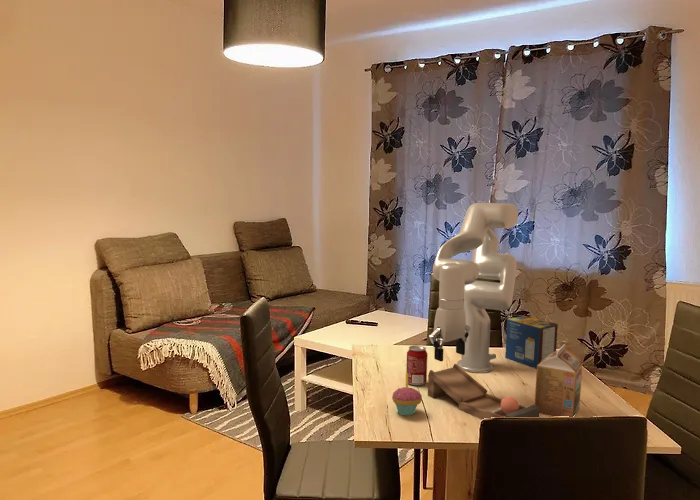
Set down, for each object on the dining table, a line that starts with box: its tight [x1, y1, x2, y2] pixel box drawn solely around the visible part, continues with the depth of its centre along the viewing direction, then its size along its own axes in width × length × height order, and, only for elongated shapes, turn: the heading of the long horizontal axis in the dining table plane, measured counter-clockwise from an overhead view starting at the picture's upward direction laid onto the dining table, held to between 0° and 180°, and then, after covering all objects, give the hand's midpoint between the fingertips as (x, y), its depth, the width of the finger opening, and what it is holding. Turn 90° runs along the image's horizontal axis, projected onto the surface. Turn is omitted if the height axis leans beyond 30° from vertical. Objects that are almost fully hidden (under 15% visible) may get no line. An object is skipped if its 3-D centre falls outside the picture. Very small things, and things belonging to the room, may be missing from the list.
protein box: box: [504, 315, 559, 370], centre depth 212 cm, size 10×15×16 cm
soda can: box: [405, 345, 428, 387], centre depth 187 cm, size 7×7×12 cm
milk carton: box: [534, 343, 584, 417], centre depth 166 cm, size 11×10×19 cm
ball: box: [501, 395, 520, 415], centre depth 159 cm, size 5×5×5 cm
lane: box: [427, 363, 540, 420], centre depth 167 cm, size 32×12×8 cm, turn 37°
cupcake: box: [391, 369, 423, 416], centre depth 163 cm, size 9×8×12 cm
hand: (449, 356), depth 177 cm, fingers open, 9 cm apart
